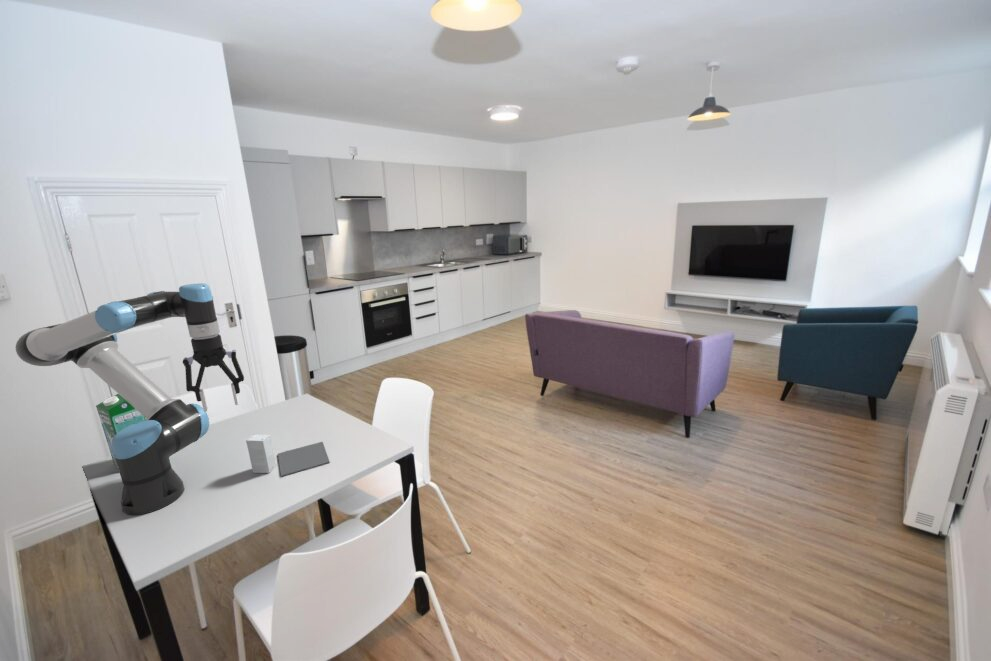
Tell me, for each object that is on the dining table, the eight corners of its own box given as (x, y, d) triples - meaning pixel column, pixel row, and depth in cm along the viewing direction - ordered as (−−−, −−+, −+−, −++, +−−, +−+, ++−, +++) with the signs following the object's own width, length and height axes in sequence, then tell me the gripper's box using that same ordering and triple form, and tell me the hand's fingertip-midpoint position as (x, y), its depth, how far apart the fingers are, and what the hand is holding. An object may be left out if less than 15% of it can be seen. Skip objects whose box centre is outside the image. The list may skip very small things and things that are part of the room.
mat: (281, 477, 140) (281, 475, 140) (278, 454, 154) (277, 453, 154) (329, 463, 147) (329, 461, 147) (322, 442, 161) (322, 441, 161)
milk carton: (113, 464, 152) (93, 399, 145) (143, 452, 159) (125, 389, 153) (126, 470, 148) (106, 403, 141) (156, 457, 155) (138, 393, 149)
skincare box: (277, 466, 147) (270, 434, 143) (269, 473, 143) (262, 441, 139) (260, 465, 147) (253, 434, 144) (252, 473, 143) (245, 440, 140)
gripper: (161, 345, 121) (180, 419, 127) (244, 333, 130) (258, 402, 136) (165, 339, 127) (183, 410, 133) (244, 327, 136) (258, 394, 142)
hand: (221, 406), depth 135 cm, fingers open, 8 cm apart
